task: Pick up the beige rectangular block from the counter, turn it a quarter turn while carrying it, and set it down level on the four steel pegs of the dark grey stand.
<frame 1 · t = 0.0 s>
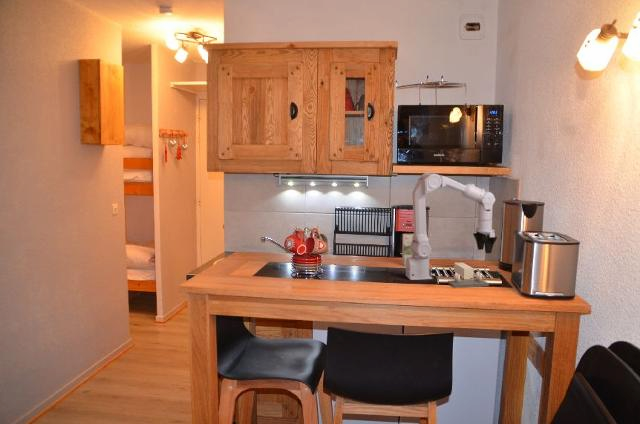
hand: (484, 251, 210), 10 cm above the countertop, tool pointing down, fingers open, 7 cm apart
peg stand: (468, 284, 197), on the countertop
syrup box: (408, 264, 233), on the countertop
beige rectangular block: (463, 277, 209), on the countertop
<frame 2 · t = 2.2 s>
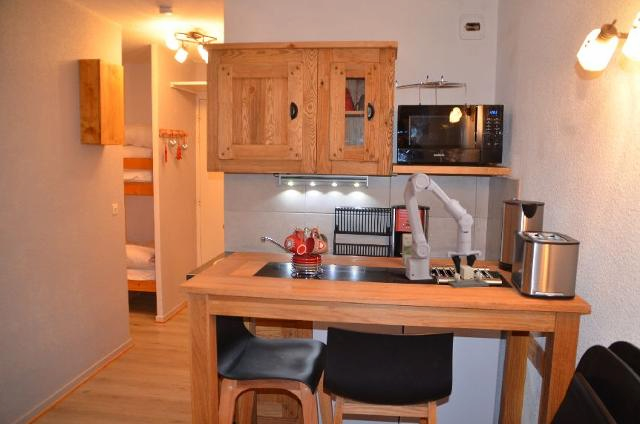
hand: (463, 272, 208), 2 cm above the countertop, tool pointing down, fingers closed on beige rectangular block, 4 cm apart
beige rectangular block: (463, 277, 209), on the countertop, touching gripper
everything else where it was.
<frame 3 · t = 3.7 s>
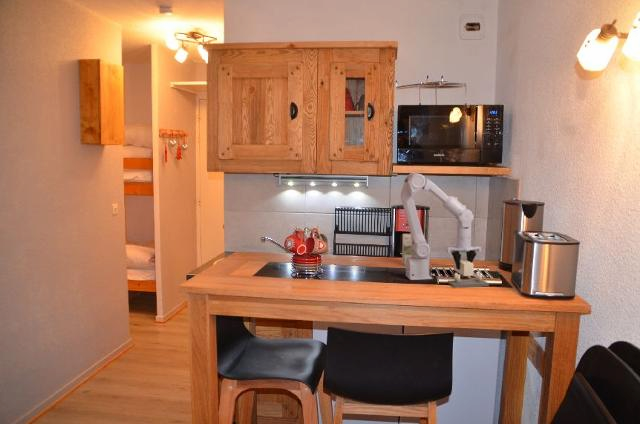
hand: (463, 268, 208), 3 cm above the countertop, tool pointing down, fingers closed on beige rectangular block, 4 cm apart
beige rectangular block: (463, 272, 208), point 2 cm above the countertop, touching gripper
everything else where it was.
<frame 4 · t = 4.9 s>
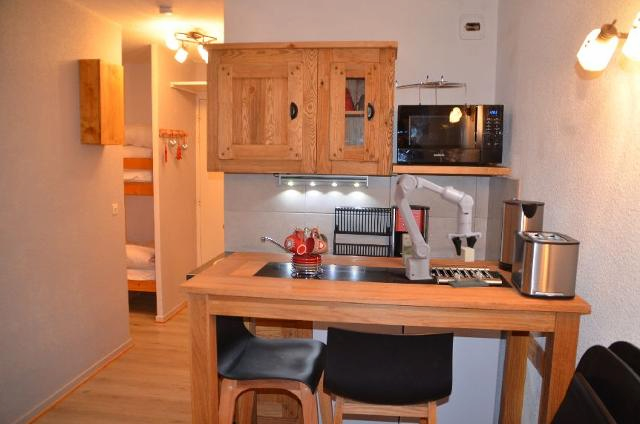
hand: (463, 255, 207), 9 cm above the countertop, tool pointing down, fingers closed on beige rectangular block, 4 cm apart
beige rectangular block: (463, 258, 207), point 8 cm above the countertop, touching gripper
everything else where it was.
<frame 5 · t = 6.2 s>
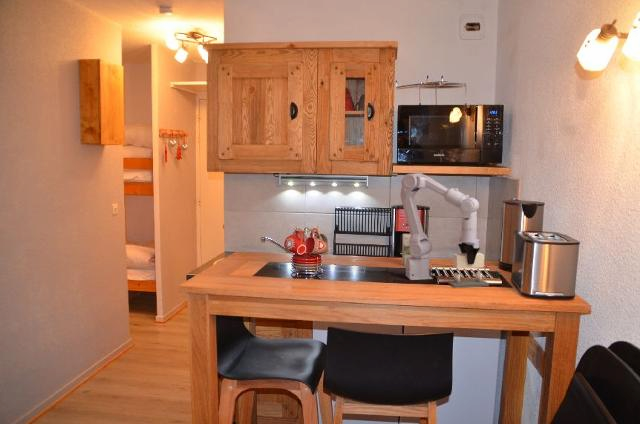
hand: (468, 262, 195), 9 cm above the countertop, tool pointing down, fingers closed on beige rectangular block, 4 cm apart
beige rectangular block: (468, 266, 196), point 7 cm above the countertop, touching gripper
everything else where it was.
when the fingers open (7 cm above the countertop, at t = 7.3 s): beige rectangular block stays where it is, resting on peg stand.
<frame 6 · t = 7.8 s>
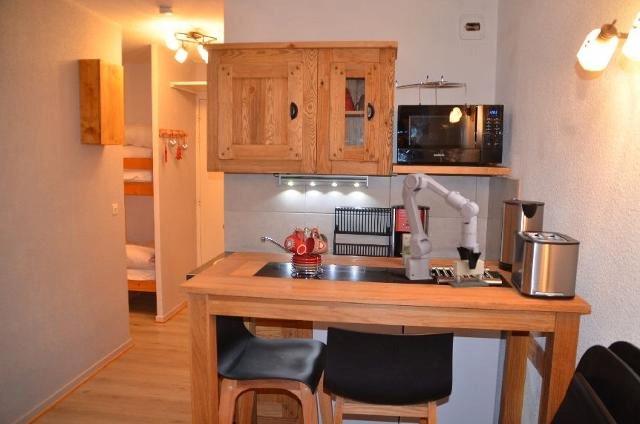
hand: (468, 267, 196), 7 cm above the countertop, tool pointing down, fingers open, 7 cm apart
beige rectangular block: (468, 273, 196), point 4 cm above the countertop, touching peg stand
everything else where it was.
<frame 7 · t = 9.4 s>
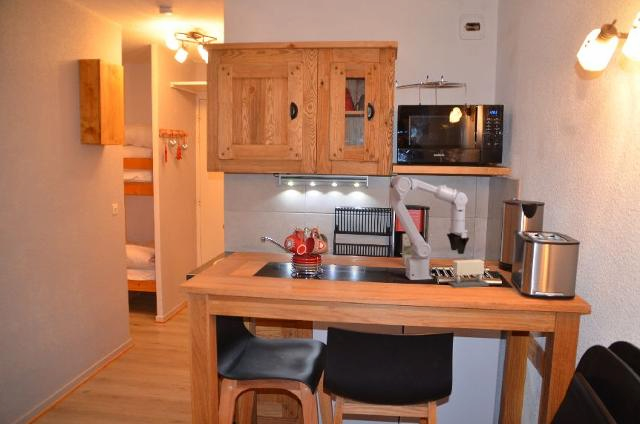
hand: (457, 251, 209), 10 cm above the countertop, tool pointing down, fingers open, 7 cm apart
nothing on the countertop moved.
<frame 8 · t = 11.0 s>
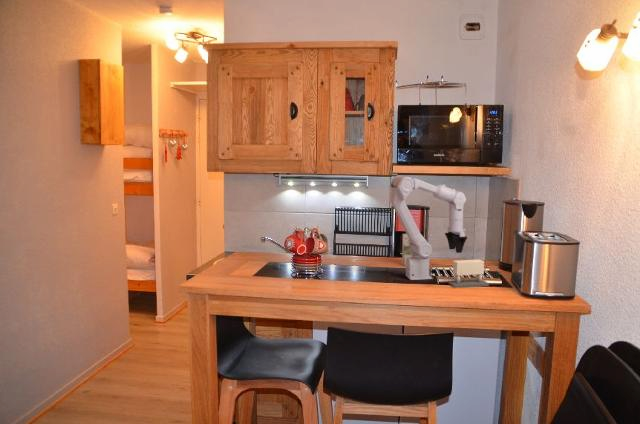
hand: (455, 250, 211), 10 cm above the countertop, tool pointing down, fingers open, 7 cm apart
nothing on the countertop moved.
at the end: beige rectangular block 0.0 cm off-centre on the peg stand, point 4.5 cm above the peg stand's base; beige rectangular block tilted 0°; the gripper is holding nothing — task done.
